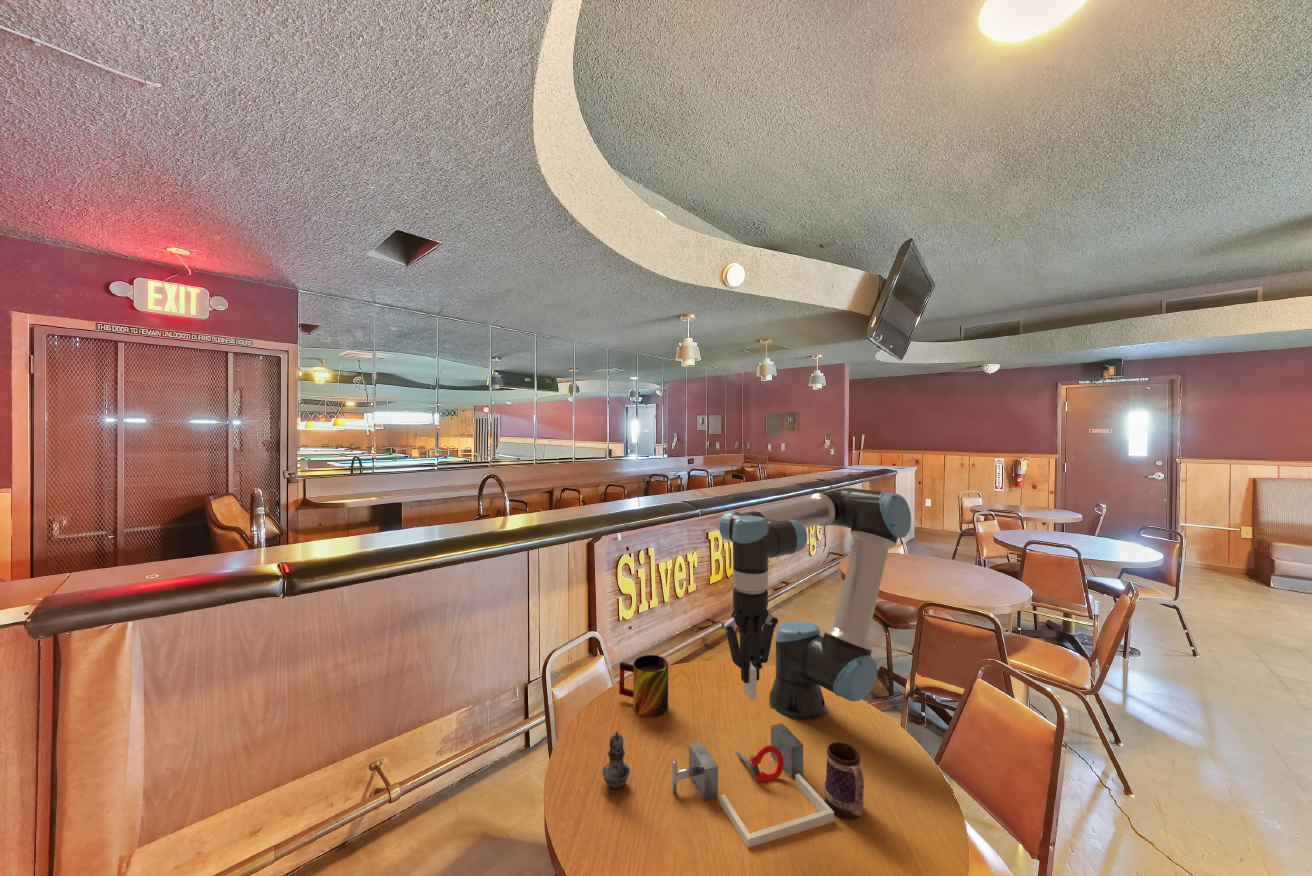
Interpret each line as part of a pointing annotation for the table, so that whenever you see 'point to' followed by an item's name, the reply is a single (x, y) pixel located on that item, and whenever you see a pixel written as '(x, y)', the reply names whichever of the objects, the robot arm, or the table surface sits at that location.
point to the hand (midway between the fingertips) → (750, 695)
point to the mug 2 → (844, 781)
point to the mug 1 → (647, 685)
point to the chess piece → (616, 763)
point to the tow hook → (757, 759)
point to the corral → (788, 827)
